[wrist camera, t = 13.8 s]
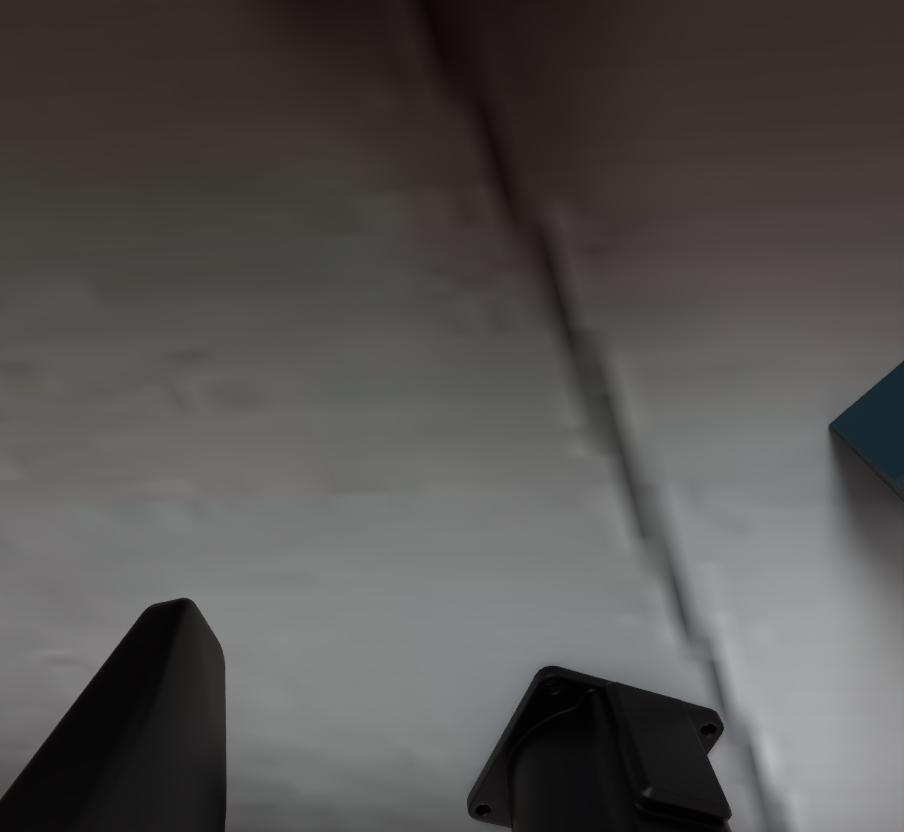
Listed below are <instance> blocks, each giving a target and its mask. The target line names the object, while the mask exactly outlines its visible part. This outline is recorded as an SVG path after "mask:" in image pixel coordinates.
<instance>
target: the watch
mask: <svg viewBox="0 0 904 832" xmlns="http://www.w3.org/2000/svg"><path fill="white" fill-rule="evenodd" d="M829 426H830V427H831V428H832V429H833V430H834V431H835V432H836V433H837V434H838V435H839V436H840V437H841V438H842V439H843V440H844V441H845V442H846V443H847V444H848V445H849V446H850V447H851V448H852V449H853V450H854V451H855V452H856V453H857V454H858V456H859V457H860V458H861V459H862V460H863V461H864V462H865V463H866V464H867V465H868V466H869V467H870V468H871V469H872V470H873V471H874V472H875V473H876V474H877V475H878V476H879V477H880V478H881V479H882V480H883V481H884V482H885V483H886V484H887V485H888V486H889V487H890V488H891V489H892V490H893V491H894V492H895V493H896V494H897V495H898V496H899V497H900V498H901V499H902V500H903V501H904V361H903V362H902V363H901V364H900V365H899V366H897V367H896V368H895V369H894V370H893V371H892V372H890V373H889V374H888V375H887V376H886V377H885V378H883V379H882V380H881V381H880V382H879V383H878V384H876V385H875V386H874V387H873V388H872V389H871V390H869V391H868V392H867V393H866V394H865V395H864V396H862V397H861V398H860V399H859V400H858V401H857V402H855V403H854V404H853V405H852V406H851V407H850V408H848V409H847V410H846V411H845V412H844V413H842V414H841V415H840V416H839V417H838V418H837V419H835V420H834V421H833V422H832V423H831V424H830V425H829Z"/></svg>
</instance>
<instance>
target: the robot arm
mask: <svg viewBox="0 0 904 832" xmlns="http://www.w3.org/2000/svg"><path fill="white" fill-rule="evenodd" d="M552 681H556V683H555V684H552V685H547V683H549V682H552ZM707 724H708V725H707ZM704 725H706V726H704ZM723 730H724V726H723V723H722V721H721V719H720V717H719V715H718V713H717V712H716V711H714V710H712V709H709V708H705V707H702V706H698V705H694V704H691V703H687V702H684V701H681V700H678V699H675V698H671V697H668V696H664V695H660V694H657V693H653V692H650V691H646V690H642V689H639V688H635V687H632V686H628V685H624V684H621V683H617V682H612V681H608V680H604V679H601V678H597V677H594V676H590V675H586V674H583V673H579V672H576V671H572V670H568V669H565V668H561V667H558V666H548V667H544V668H542V669H541V670H539V671H538V673H537V674H536V675H535V677H534V679H533V681H532V682H531V684H530V686H529V688H528V690H527V691H526V693H525V695H524V697H523V699H522V700H521V702H520V704H519V706H518V708H517V709H516V711H515V713H514V715H513V717H512V718H511V720H510V722H509V724H508V726H507V727H506V729H505V731H504V733H503V735H502V736H501V738H500V740H499V742H498V744H497V745H496V747H495V749H494V751H493V753H492V754H491V756H490V758H489V760H488V762H487V763H486V765H485V767H484V769H483V771H482V772H481V774H480V776H479V778H478V780H477V781H476V783H475V785H474V787H473V789H472V790H471V792H470V794H469V796H468V799H467V805H468V813H469V815H470V816H471V817H472V818H473V819H476V820H479V821H483V822H488V823H492V824H497V825H501V826H505V827H510V828H512V832H731V829H730V827H729V825H728V822H727V821H728V820H729V819H730V817H731V816H732V813H731V809H730V807H729V804H728V802H727V800H726V797H725V795H724V793H723V791H722V788H721V786H720V784H719V782H718V779H717V777H716V775H715V773H714V770H713V768H712V766H711V763H710V761H709V759H708V757H707V754H708V753H709V751H710V750H711V748H712V747H713V746H714V744H715V743H716V741H717V740H718V738H719V737H720V736H721V734H722V732H723ZM226 790H227V779H226V697H225V660H224V655H223V650H222V648H221V645H220V643H219V641H218V639H217V638H216V636H215V635H214V633H213V631H212V630H211V628H210V626H209V625H208V623H207V622H206V620H205V618H204V617H203V615H202V614H201V612H200V610H199V609H198V607H197V606H196V604H195V603H194V602H193V601H192V600H190V599H188V598H180V599H175V600H171V601H166V602H162V603H157V604H153V605H151V606H149V607H148V608H147V609H146V610H145V611H144V612H143V613H142V614H141V616H140V617H139V618H138V619H137V621H136V622H135V623H134V625H133V626H132V627H131V629H130V630H129V631H128V633H127V634H126V635H125V637H124V638H123V639H122V641H121V642H120V643H119V644H118V646H117V647H116V648H115V650H114V651H113V652H112V654H111V655H110V656H109V658H108V659H107V660H106V662H105V663H104V664H103V666H102V667H101V668H100V669H99V671H98V672H97V673H96V675H95V676H94V677H93V679H92V680H91V681H90V683H89V684H88V685H87V687H86V688H85V689H84V691H83V692H82V693H81V694H80V696H79V697H78V698H77V700H76V701H75V702H74V704H73V705H72V706H71V708H70V709H69V710H68V712H67V713H66V714H65V716H64V717H63V718H62V719H61V721H60V722H59V723H58V725H57V726H56V727H55V729H54V730H53V731H52V733H51V734H50V735H49V737H48V738H47V739H46V741H45V742H44V743H43V744H42V746H41V747H40V748H39V750H38V751H37V752H36V754H35V755H34V756H33V758H32V759H31V760H30V762H29V763H28V764H27V766H26V767H25V768H24V769H23V771H22V772H21V773H20V775H19V776H18V777H17V779H16V780H15V781H14V783H13V784H12V785H11V787H10V788H9V789H8V791H7V792H6V793H5V794H4V796H3V797H2V798H1V800H0V832H225V819H226ZM482 804H484V805H482Z"/></svg>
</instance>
